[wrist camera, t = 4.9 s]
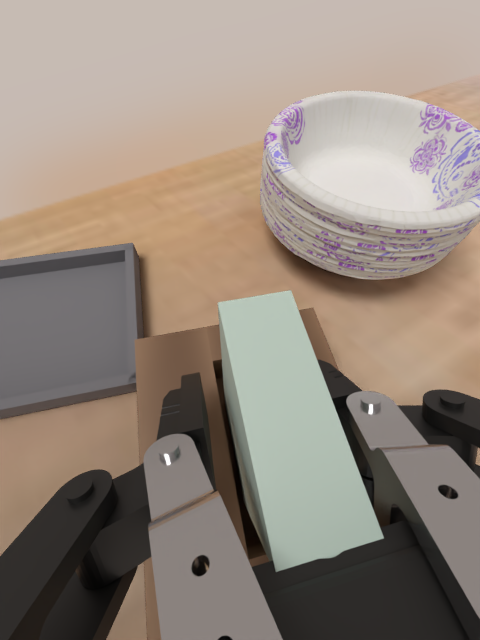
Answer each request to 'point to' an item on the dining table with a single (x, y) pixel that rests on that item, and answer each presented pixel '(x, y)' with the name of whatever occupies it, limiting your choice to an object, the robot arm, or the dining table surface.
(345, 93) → the paper bowls
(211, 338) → the walnut slotted block
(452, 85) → the dining table surface
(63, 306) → the charcoal tray
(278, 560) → the pale green rectangular block
